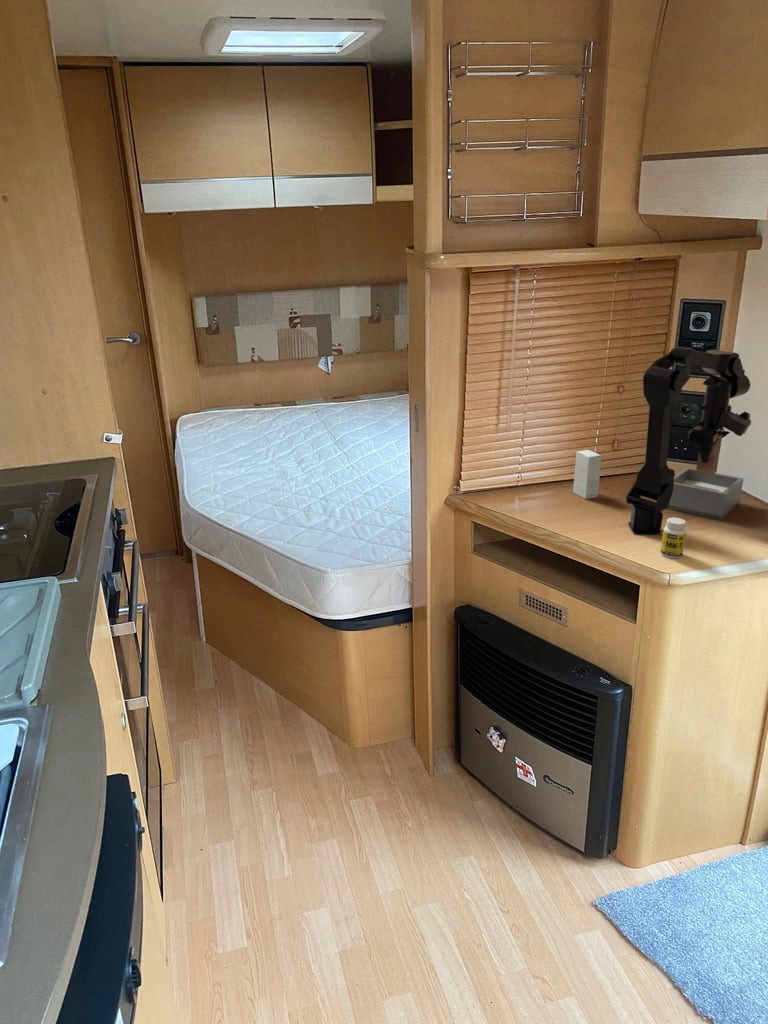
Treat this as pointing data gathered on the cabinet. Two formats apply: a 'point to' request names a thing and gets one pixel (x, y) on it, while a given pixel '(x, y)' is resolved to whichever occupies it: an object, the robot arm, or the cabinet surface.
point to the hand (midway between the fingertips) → (707, 460)
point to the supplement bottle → (673, 538)
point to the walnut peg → (710, 459)
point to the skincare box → (587, 474)
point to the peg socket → (705, 493)
